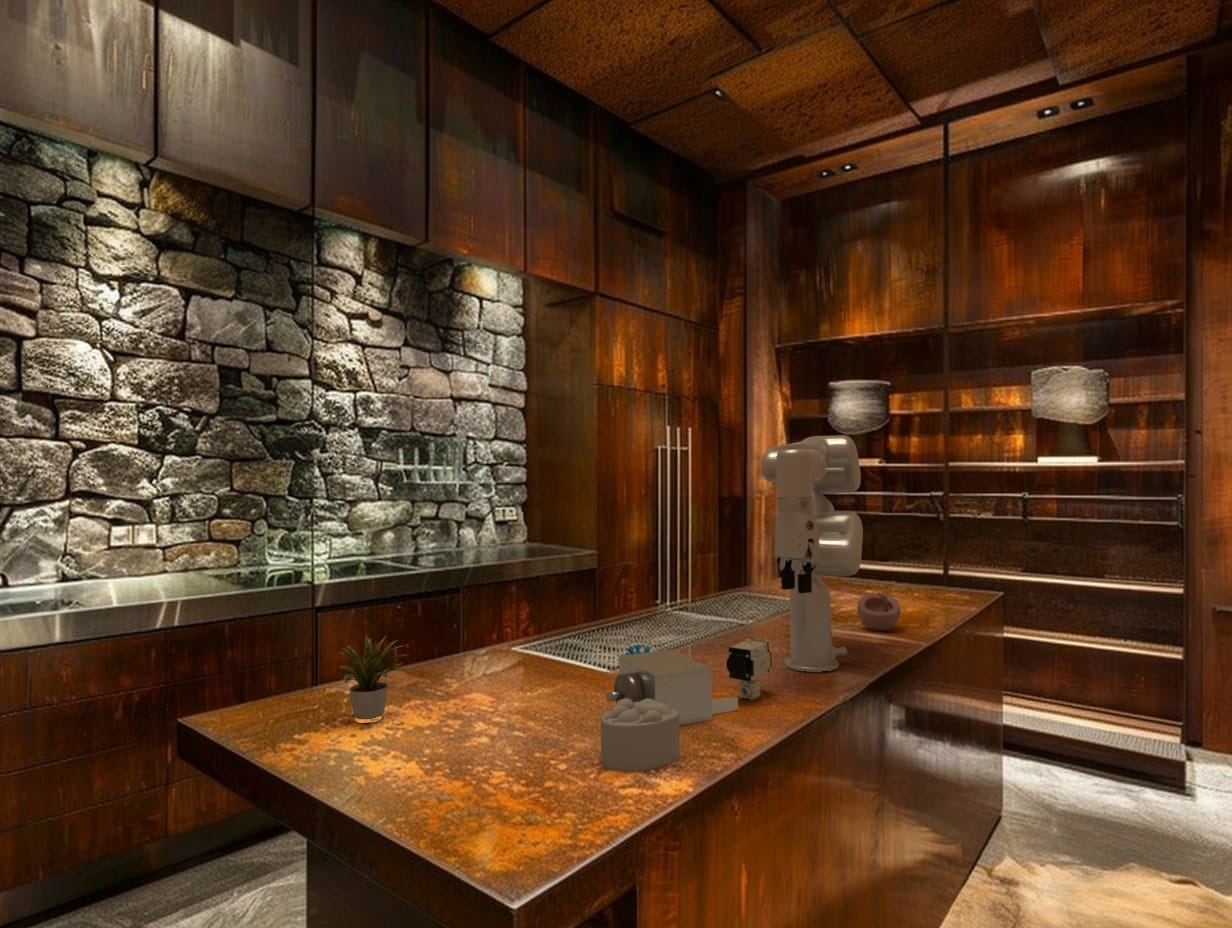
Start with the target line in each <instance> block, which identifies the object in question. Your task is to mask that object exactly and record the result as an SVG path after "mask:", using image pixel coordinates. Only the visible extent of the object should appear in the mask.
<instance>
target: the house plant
mask: <svg viewBox="0 0 1232 928" xmlns="http://www.w3.org/2000/svg"><path fill="white" fill-rule="evenodd" d="M387 636H388V634H386V635H385V636H384V637H383V638H382V639H381V640H380V642H378V644H377V645H376V646H375V648H374V646H373V644H372V638H371V637H368V633H366V634H365V637H364V638H365V639H364V653H363V655H362V653H361V651H360V649H359V648H358V647H357V646H355V645H352V644H346V647H347V649H348V650H350V652H349V651H348V650H347V649H345V648H343V650H344V651H337V652H335V653H337V654H338V653H340V654H341V655H342V656H343V657H345V659H347V660H348V661H349V662H350V663H351V664H352V665H353V667H352V666H350V665H348V664H344V665H341V666H339V669H343V670H345V671H348V672H350V674H349V673H346V674H344V677H343V680H344V682H343V684H345V683H346V682H349V681H351V680H355V681H356V682H357V683H358V684H355V685H353V686H350V688H349V694H350V695H349V696H350V700H351V701H350V702H351V705H352V712H353V718H354V717H355V718H358V719H372V718H376V717H379V716H382V715H383V714H385V709H386V704H387V703H386V702H387V694H388V689H389V684H388V683H387V682H383V681H382V679H381V678H385V680H386V681H387V679H388V674H389V673H390V672H394V671H402V672H403V670H402V666H401V663H397V664H396V663H395V664H389V665H387V664H388V663H389V662H391V661H394V660H397V659H399V658H401V657H405V656H409V655H411V653H405V654H396V655H393V656H390V655H391V654H393V653H395V652H401V650H399V649H398V648H400V647H403V645H400V646H396V647H394V648H392V647H393V645H395V643H397V642H398V641H399V639H396V640H394V641H392V642H391V643H389V644H388V645H387V646H386V647H385V649H384V650H383V651H382V650H381V649H380V648H381V646H382V644H383V643H384V641H385V640H386V638H387ZM351 646H352V647H351ZM353 647H354V648H355V649H356V650H357V651H358V653H359V654H358V653H357V651H356V650H355V649H354V648H353ZM404 647H407V644H406V645H404ZM390 649H391V650H390ZM395 649H398V650H395ZM381 651H382V652H381ZM379 652H381V653H380V654H379V656H378V653H379ZM389 656H390V657H389ZM360 657H361V658H360ZM377 657H378V658H377ZM384 657H385V658H384ZM386 665H387V666H386ZM398 667H400V668H401V669H400V668H398ZM388 668H390V669H388ZM353 677H354V678H353Z"/></svg>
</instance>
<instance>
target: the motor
mask: <svg viewBox="0 0 1232 928" xmlns="http://www.w3.org/2000/svg"><path fill="white" fill-rule="evenodd" d="M618 672H619V673H618V674H617V675H616V678H615V680H614V685H613V691H611V692H606V693H605V699H606V701H607V702H614V701H615V704H616V703H617V702H618V701H619V700H621V699H625V698H627V699H630V700H632V701H633V703H635V702H640V701H642V700H644V699H647V698H649V699H653V700H655V701H656V702H659V703H662V704H666V705H667V706H669V707H670V708H671V709H674V710H676V711H678V713H679V727H680V726H685V725H691V724H696V723H702V722H708V721H712V720H713V715H717V714H723V713H725V714H726V713H731V712H736V710H737V711H739V696H736V695H734V696H727V697H720V698H715V699H713V694H712V693H713V691H712V690H713V689H712V688H713V686H712V683H713V682H712V680H713V679H712V667H711V666H709V665H706V664H704V663H702V662H700V661H697V660H695V659H693V658H690V657H689V656H686V655H684V654H681V653H680V652H677V651H675V650H673V649H666V650H658V651H649V652H647V653H643V652H642V653H639V654H636V653H635V654H630V655H625V654H624V655H619V656H618Z"/></svg>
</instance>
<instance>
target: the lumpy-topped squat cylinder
mask: <svg viewBox="0 0 1232 928" xmlns="http://www.w3.org/2000/svg"><path fill="white" fill-rule="evenodd" d="M680 739H681V738H680V726H679V713H678V711H676V710H674V709H671V708H670V707H669V706H667V705H666V704H662V703H659V702H656V701H655V700H653V699H649V698H647V699H644V700H642V701H640V702H635V703H633V701H632V700H630V699H627V698H625V699H621V700H619V701H618V702H617V703H616V702H615V704H614V706H613V707H610V708H609V709H608V710H607V711H605V712H603V714H602V715H601V717H600V764H601V766H603V768H605V769H607V770H611V771H616V772H625V773H626V772H628V773H629V772H644V771H645V772H646V771H651V770H654V769H658V768H663V767H664V766H667V765H670V764H672V763H675V762H676V760H677V761H678V760H679V759H680V758H679V757H681V753H680V751H681V747H680V745H681V744H680Z"/></svg>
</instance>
